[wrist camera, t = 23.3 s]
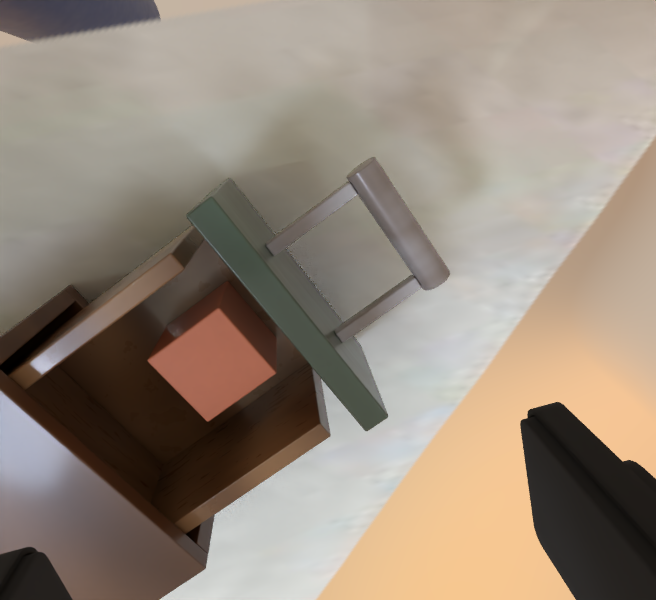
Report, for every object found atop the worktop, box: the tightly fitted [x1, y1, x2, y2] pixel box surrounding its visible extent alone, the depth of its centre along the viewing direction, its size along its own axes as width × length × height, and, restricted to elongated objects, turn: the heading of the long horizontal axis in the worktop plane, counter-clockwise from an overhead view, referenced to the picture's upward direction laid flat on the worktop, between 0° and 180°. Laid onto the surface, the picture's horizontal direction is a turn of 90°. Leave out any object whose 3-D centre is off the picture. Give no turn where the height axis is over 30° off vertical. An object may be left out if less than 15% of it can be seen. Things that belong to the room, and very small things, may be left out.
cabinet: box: [0, 285, 215, 600], centre depth 24 cm, size 15×13×9 cm
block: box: [148, 281, 277, 422], centre depth 23 cm, size 4×4×4 cm
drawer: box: [5, 157, 450, 534], centre depth 23 cm, size 19×11×7 cm, turn 126°
